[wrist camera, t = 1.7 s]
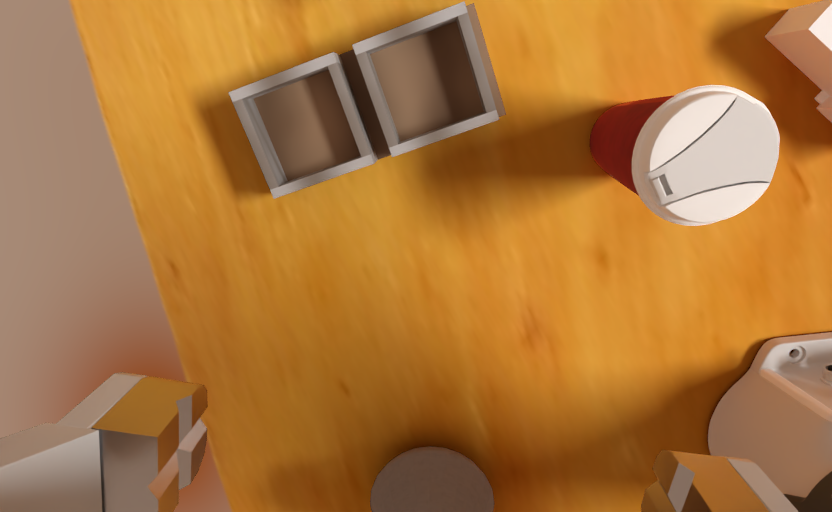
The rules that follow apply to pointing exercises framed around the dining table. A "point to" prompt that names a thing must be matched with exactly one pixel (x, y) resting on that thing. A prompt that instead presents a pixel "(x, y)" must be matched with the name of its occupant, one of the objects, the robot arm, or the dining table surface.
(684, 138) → the paper cup
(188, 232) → the dining table surface
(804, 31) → the white notched slab
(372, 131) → the two-compartment tray
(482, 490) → the coffee pot
